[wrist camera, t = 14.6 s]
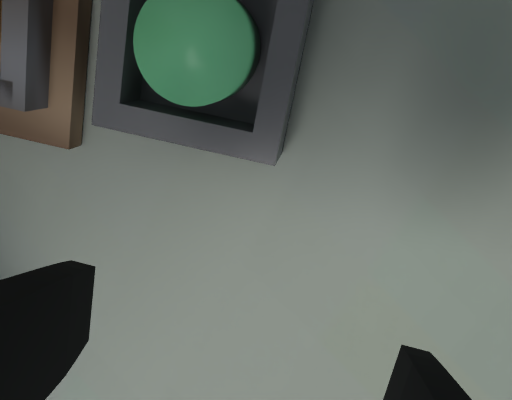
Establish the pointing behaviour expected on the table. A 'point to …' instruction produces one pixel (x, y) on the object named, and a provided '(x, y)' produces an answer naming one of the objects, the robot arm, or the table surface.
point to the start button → (196, 49)
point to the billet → (0, 18)
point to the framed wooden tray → (44, 70)
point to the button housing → (212, 115)
